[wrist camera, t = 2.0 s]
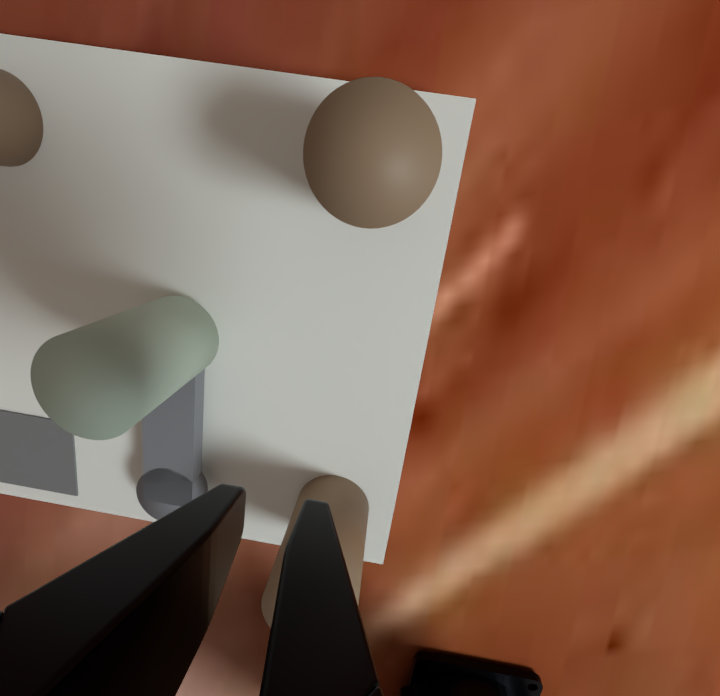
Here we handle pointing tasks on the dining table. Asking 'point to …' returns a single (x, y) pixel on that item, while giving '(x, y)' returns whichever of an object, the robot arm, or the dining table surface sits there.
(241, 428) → the stool seat
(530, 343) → the dining table surface
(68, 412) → the hinged leg
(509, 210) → the dining table surface
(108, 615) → the robot arm
